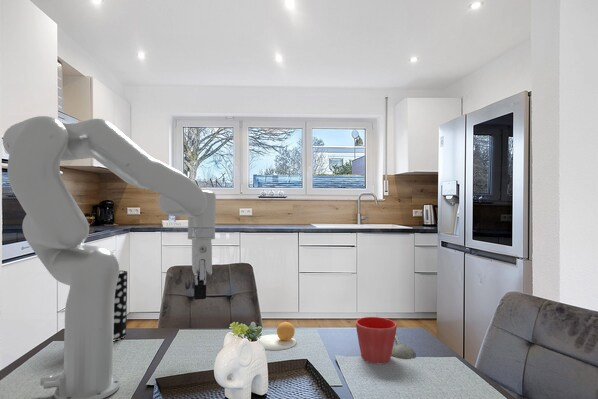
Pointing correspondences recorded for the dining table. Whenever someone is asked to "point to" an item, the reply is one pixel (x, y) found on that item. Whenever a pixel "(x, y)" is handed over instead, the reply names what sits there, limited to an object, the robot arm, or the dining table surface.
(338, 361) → the dining table surface
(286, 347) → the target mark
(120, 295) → the white-spotted black cylinder
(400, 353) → the soupspoon
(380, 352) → the flower pot
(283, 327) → the ball
